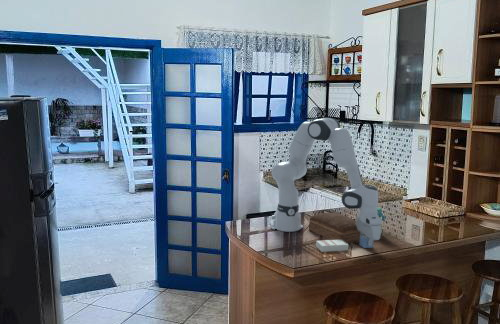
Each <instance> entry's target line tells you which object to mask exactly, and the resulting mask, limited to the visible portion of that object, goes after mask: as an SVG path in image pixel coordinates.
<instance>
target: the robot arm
mask: <svg viewBox="0 0 500 324" xmlns="http://www.w3.org/2000/svg"><path fill="white" fill-rule="evenodd" d="M315 140H316V141H323V142H326V141H328V142H329V143H330V147H331V152H332V157H333V160H334V163H335V164H336V165H338V166H339V167H341V168H343V169H344V170H345V171H346V173H347V176H348V180H349V183H350V189H348V190H346V191H345V192H343V193H342V195H341V203H342V205H343V206H344V208H347V209H349V210H350V209H351V210H352V209H359V213H358V214H357V216H356V220H355V221H356V227H357V230H358V231H360V232H361V233H360V234H361V235H366V236H367V237H368V239H369V241H367V245H369V246H371V245H372V241H373V242H374V241H379V240H380V239H381V234H382V233H381V226H380V225H381V224H382V225H383V221H382V218H381V217H380V218H379V216H378V215H377V207H378V204H379V191H378V188H377V187H376V186H374V185H371V184H364V182H363V178H362V176H361V170H360V168H359V164H358V162H357V159H356V153H355V152H356V151H355V147H354V144H353V143H354V142H353V139H352V137H351V134H350V131H349V129H347V128H344V127H341V124H340V122H339V121H338V120H337V119H336V118H333V117H323V118H319V119H314V120H312V121H304V122H302V123H301V124H300V125H299V126H298V129H297V131H296V132H295V133H294V136H293V138H292V140H291V143H290V144H289V147H288V153H289V158H288V160H287V161H282V162H278V163H277V164H275V165H274V166H273V167H272V169H271V177H272V178H273V180H274V181H275V182H276V185H277V187H278V204H277V206H276V207H277V210H276V211H275V212H274V213H273V214H272V215H271V220H269V224H271V225H270V227H271V229H272V230H275V229H277V231H280V232H288V233H289V232H292V233H293V232H297V231H299V230H301V229H303V228H304V225H303V224H302V214H301V213H300V212H299V211H300V209H299V208H300V206H299V190H298V189H297V187H296V185H295V180H299V179H301V178H302V177H304V176H306V173H308V172H307V171H308V166H307V159H308V155H309V154H310V152H311V149H312V147H313V144H314V143H315Z"/></svg>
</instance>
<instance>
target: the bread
mask: <svg viewBox="0 0 500 324" xmlns="http://www.w3.org/2000/svg"><path fill="white" fill-rule="evenodd" d="M308 230H309V231H310V232H313V233H315V234H318V235H319V236H322V237H325V238H326V239H327V240H339V239H342V240H343V241H345V242H346V243H347V244H349V243H352V242H358V241H359V242H360V235H361V234H360V233H361V232H360V231H358V230H357V227H356V220H354V219H352V218H351V217H348V216H344V215H342V214H339V213H338V212H321V213H317V214H315V215H312V216H311V217H309V224H308Z"/></svg>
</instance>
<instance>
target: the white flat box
mask: <svg viewBox="0 0 500 324" xmlns="http://www.w3.org/2000/svg"><path fill="white" fill-rule="evenodd" d="M315 247H316V248H317V250H319V251H320V252H321V253H323V252H325V253H326V252H327V253H328V252H340V251H341V252H343V251H349V243H346V242H345V241H343V240H342V239H339V240H331V239H325V240H324V239H323V240H322V239H321V240H315Z"/></svg>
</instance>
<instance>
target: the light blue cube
mask: <svg viewBox="0 0 500 324" xmlns="http://www.w3.org/2000/svg"><path fill="white" fill-rule="evenodd" d="M367 241H369V239H368V237H367V236H366V235H360V240H359V246H360V247H362V248H363V249H368V248H370V249H372V248H373V249H374V240H373V241H372V245H371V246H369V245H367Z"/></svg>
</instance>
